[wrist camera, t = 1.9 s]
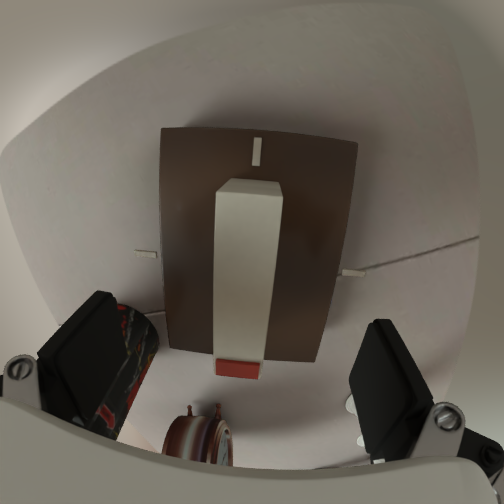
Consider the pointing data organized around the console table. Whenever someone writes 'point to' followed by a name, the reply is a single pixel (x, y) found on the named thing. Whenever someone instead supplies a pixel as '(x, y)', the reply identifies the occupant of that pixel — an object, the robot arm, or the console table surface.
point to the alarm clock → (200, 439)
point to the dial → (244, 273)
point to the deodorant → (125, 374)
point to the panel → (290, 237)
